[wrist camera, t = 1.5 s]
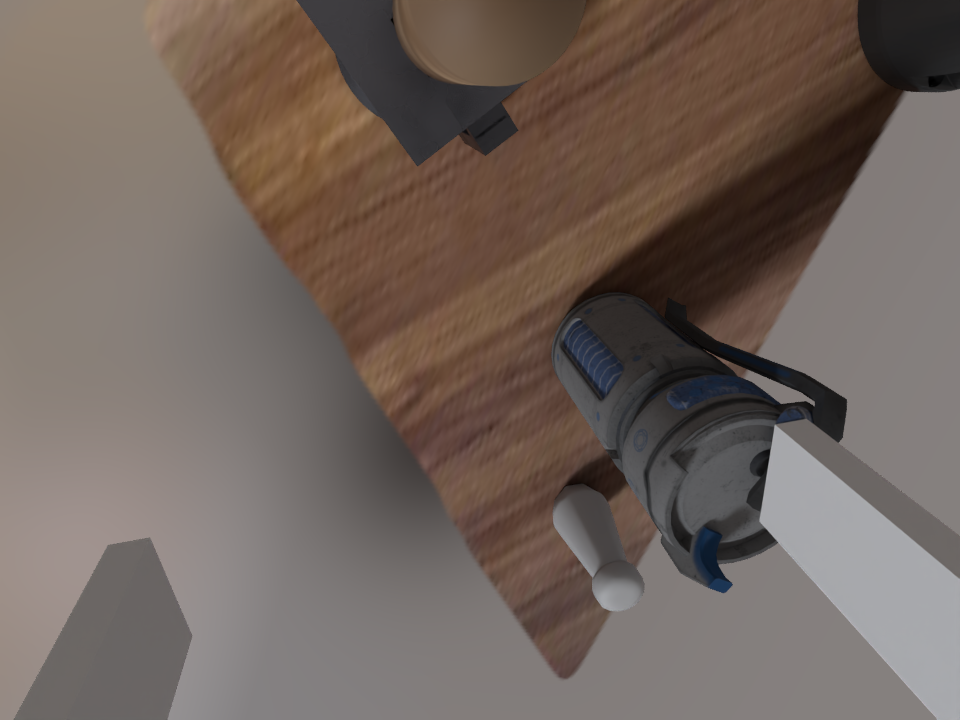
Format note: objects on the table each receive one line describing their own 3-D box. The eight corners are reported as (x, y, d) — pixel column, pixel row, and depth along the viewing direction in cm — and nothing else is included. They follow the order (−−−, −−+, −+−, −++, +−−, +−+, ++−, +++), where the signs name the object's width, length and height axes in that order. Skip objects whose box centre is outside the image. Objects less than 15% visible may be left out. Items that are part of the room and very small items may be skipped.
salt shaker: (553, 529, 62) (597, 632, 51) (540, 488, 60) (583, 587, 48) (605, 510, 62) (661, 608, 51) (594, 468, 60) (650, 562, 48)
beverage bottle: (691, 294, 53) (929, 449, 31) (609, 411, 57) (768, 624, 35) (603, 242, 50) (800, 375, 27) (522, 371, 53) (636, 580, 31)
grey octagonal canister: (534, 83, 43) (590, 84, 33) (414, 175, 45) (431, 206, 34) (431, -94, 38) (458, -162, 27) (298, 17, 39) (274, -6, 28)
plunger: (501, 43, 31) (619, 13, 17) (425, 103, 32) (477, 123, 17) (444, -53, 29) (525, -181, 15) (364, 14, 29) (366, -48, 15)
